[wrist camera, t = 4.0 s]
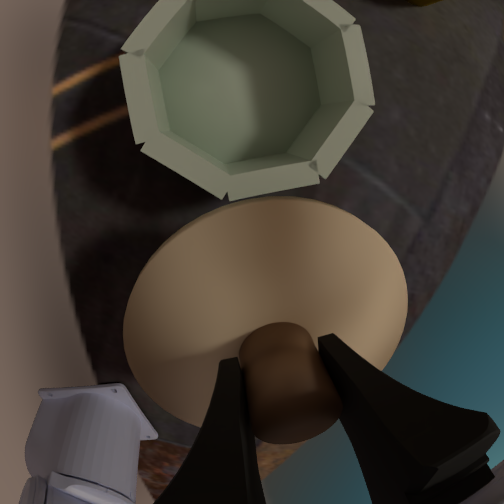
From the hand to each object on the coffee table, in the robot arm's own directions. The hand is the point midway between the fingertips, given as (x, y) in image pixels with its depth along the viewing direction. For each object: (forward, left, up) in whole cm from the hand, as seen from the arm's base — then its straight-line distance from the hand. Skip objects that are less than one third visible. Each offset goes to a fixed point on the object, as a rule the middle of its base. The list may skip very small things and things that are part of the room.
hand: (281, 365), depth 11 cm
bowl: (+1, +10, -9) cm, 14 cm away
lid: (0, 0, -2) cm, 2 cm away
